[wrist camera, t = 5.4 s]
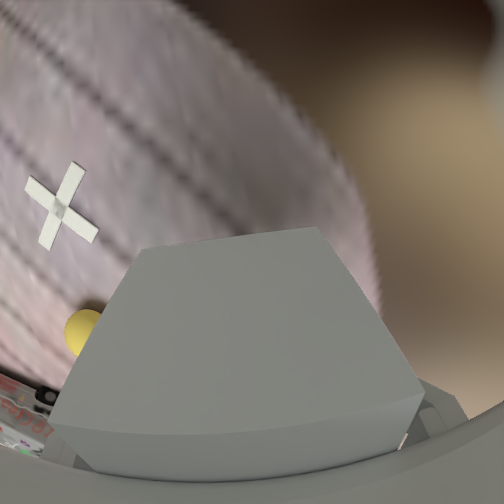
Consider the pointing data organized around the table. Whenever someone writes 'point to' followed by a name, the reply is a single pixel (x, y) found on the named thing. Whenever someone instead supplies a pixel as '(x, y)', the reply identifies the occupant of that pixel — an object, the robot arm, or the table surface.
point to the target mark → (61, 207)
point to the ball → (80, 329)
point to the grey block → (237, 366)
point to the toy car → (25, 416)
